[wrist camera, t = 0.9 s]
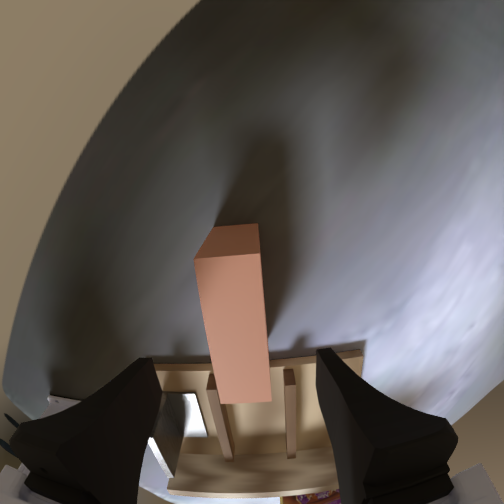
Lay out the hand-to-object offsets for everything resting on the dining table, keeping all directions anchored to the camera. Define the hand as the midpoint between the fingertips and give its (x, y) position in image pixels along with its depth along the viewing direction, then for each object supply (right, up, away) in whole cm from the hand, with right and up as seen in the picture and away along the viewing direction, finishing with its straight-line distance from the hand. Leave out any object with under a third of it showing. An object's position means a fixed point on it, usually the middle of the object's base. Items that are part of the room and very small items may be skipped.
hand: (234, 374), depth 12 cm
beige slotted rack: (+1, -10, +13) cm, 16 cm away
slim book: (0, +3, +9) cm, 10 cm away
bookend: (-5, -9, +12) cm, 16 cm away
